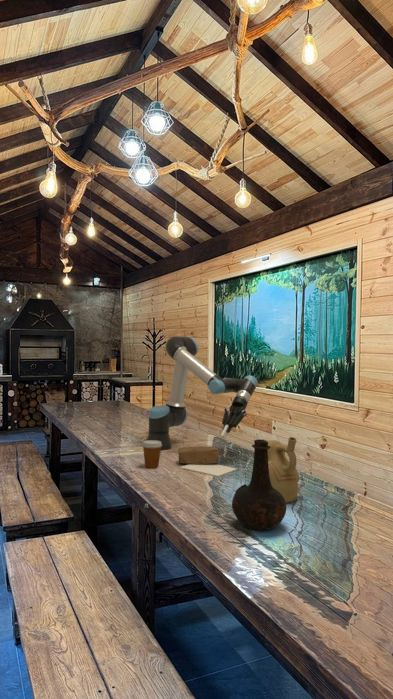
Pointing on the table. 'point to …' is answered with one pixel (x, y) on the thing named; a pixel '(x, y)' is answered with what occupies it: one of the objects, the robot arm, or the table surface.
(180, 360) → the robot arm
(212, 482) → the table surface
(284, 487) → the ceramic vessel
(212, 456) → the block
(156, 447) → the disposable coffee cup
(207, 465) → the mat
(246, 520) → the glass bottle
